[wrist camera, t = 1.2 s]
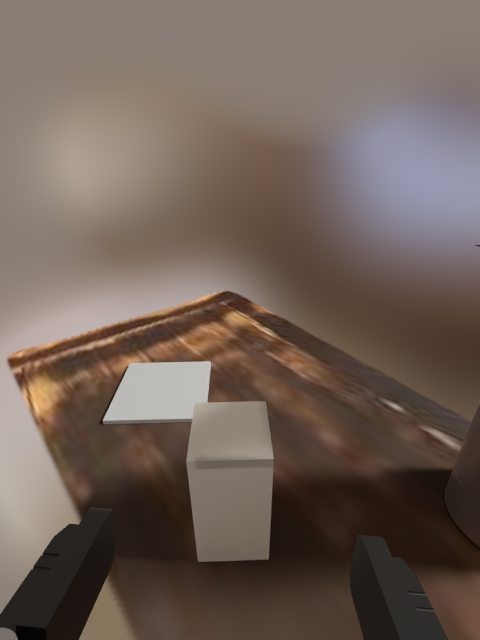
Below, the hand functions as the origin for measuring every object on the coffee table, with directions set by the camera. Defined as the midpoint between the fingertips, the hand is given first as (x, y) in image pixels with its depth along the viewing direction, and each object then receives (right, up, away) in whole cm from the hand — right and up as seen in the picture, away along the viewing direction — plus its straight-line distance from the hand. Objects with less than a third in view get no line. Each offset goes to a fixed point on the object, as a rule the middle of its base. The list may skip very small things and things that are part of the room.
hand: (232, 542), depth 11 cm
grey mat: (-11, -3, +38) cm, 39 cm away
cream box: (0, -12, +20) cm, 23 cm away
